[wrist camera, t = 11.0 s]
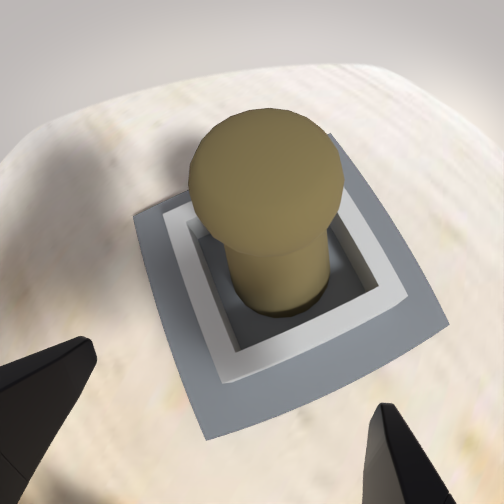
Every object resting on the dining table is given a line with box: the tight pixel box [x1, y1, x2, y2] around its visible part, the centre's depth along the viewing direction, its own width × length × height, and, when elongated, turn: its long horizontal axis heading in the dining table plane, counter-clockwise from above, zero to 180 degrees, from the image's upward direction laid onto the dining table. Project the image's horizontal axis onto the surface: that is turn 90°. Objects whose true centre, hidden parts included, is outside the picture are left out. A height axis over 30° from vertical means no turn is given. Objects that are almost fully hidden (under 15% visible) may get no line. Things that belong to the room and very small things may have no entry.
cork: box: [188, 108, 345, 318], centre depth 14 cm, size 6×6×11 cm
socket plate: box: [133, 133, 450, 441], centre depth 18 cm, size 16×16×4 cm
